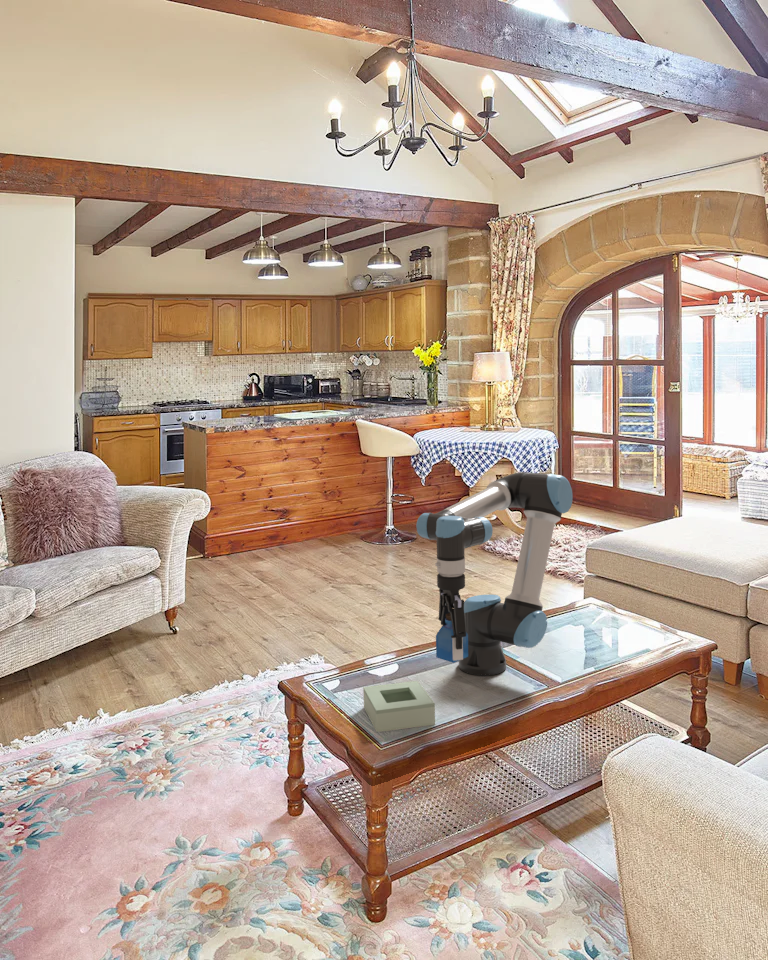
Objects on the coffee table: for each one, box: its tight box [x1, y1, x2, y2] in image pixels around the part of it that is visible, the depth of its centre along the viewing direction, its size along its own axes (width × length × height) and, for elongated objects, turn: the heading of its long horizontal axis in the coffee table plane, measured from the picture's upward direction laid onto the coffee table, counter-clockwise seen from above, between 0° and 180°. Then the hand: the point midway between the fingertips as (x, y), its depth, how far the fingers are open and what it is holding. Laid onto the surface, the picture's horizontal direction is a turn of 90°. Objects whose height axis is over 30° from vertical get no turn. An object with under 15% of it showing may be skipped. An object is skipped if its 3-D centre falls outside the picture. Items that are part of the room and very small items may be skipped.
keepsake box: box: [362, 680, 436, 733], centre depth 207 cm, size 16×16×6 cm
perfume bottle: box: [435, 613, 468, 664], centre depth 206 cm, size 6×6×12 cm
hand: (452, 653), depth 207 cm, fingers closed on perfume bottle, 8 cm apart
